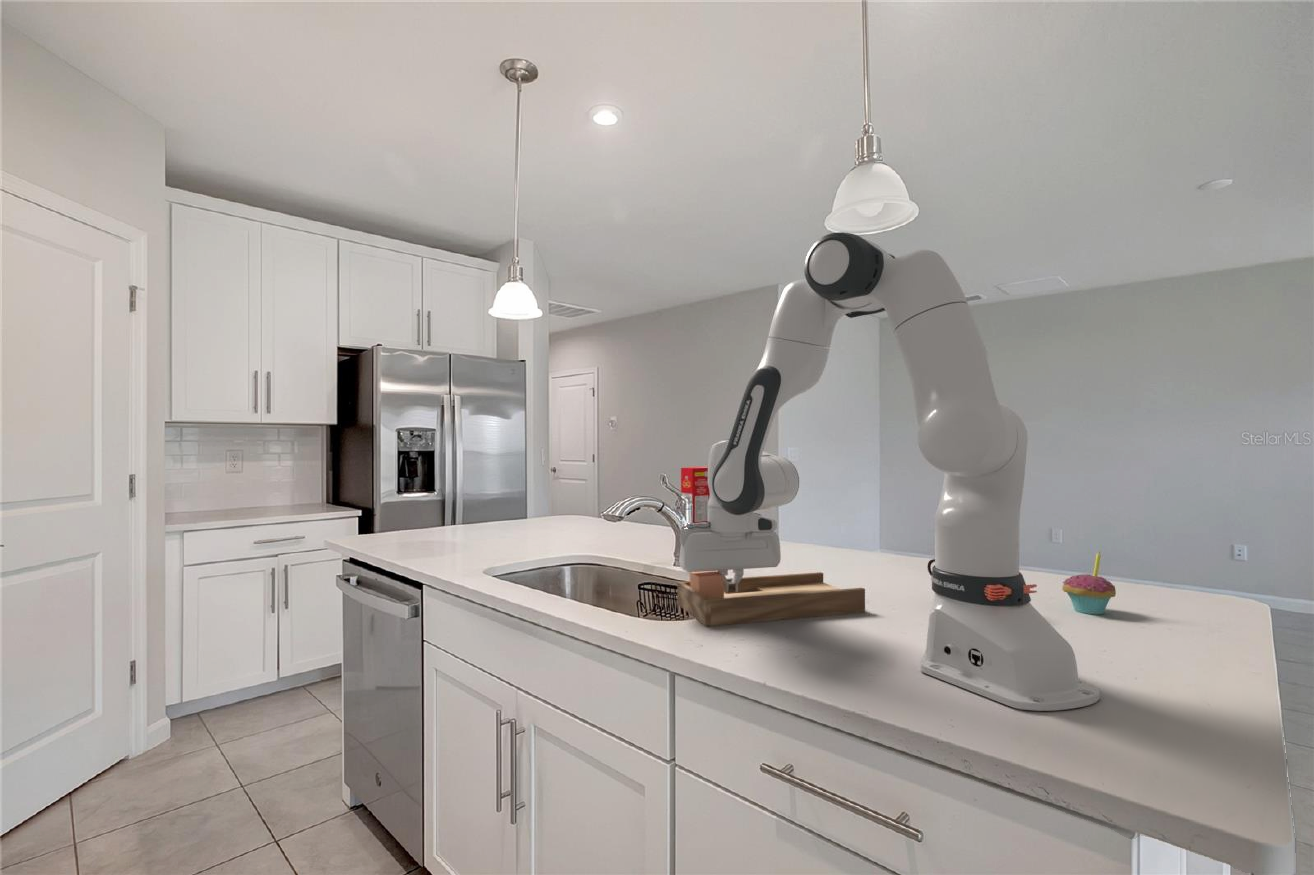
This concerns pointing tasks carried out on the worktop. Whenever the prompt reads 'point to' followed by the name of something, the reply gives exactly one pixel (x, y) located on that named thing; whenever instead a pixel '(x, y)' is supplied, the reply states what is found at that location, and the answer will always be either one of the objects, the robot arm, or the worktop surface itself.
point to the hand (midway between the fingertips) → (730, 592)
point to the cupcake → (1089, 591)
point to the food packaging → (696, 491)
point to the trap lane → (771, 600)
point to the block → (708, 584)
